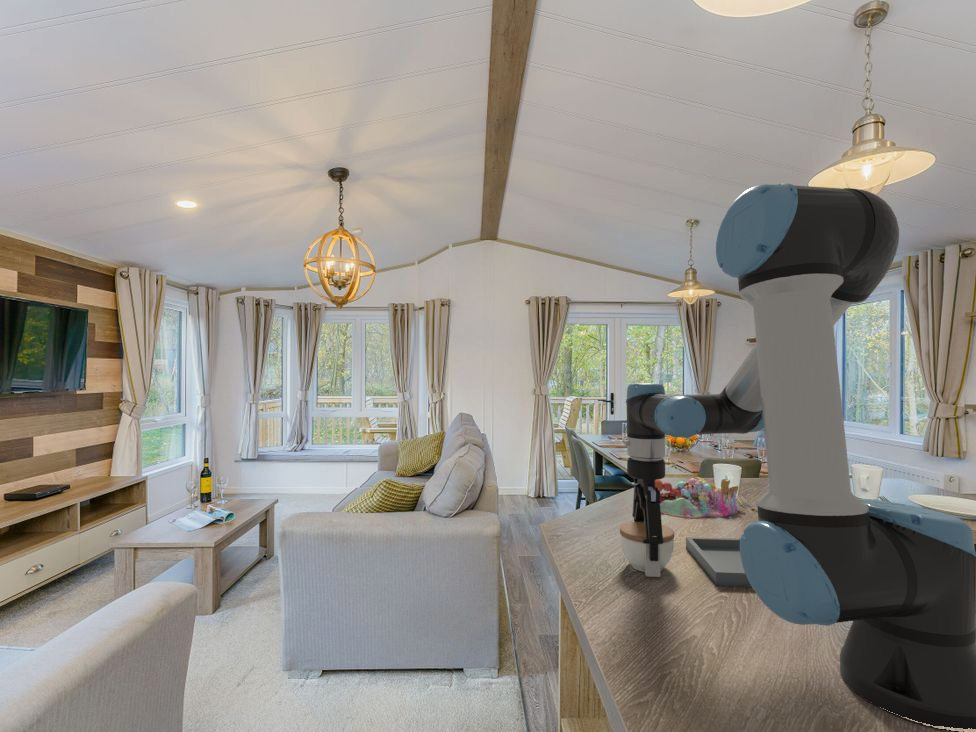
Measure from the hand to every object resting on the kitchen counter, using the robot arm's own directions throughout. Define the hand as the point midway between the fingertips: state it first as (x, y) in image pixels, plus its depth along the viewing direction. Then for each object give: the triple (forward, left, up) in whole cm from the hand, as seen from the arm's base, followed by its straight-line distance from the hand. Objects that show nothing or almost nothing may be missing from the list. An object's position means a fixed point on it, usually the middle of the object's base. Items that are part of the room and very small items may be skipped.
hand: (646, 564), depth 104 cm
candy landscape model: (+47, -22, -1) cm, 52 cm away
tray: (+2, -21, 0) cm, 21 cm away
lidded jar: (0, 0, -1) cm, 1 cm away
